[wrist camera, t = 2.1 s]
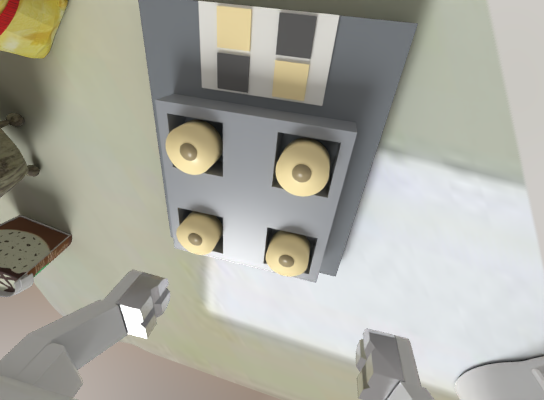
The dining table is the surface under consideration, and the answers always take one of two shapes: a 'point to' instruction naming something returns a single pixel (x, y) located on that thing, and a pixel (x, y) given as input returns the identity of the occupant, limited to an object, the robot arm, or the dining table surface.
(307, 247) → the button
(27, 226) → the food container
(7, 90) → the dining table surface
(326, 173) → the button
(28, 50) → the chocolate bunny
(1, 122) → the tabletop clock
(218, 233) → the button
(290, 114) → the board
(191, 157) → the button
